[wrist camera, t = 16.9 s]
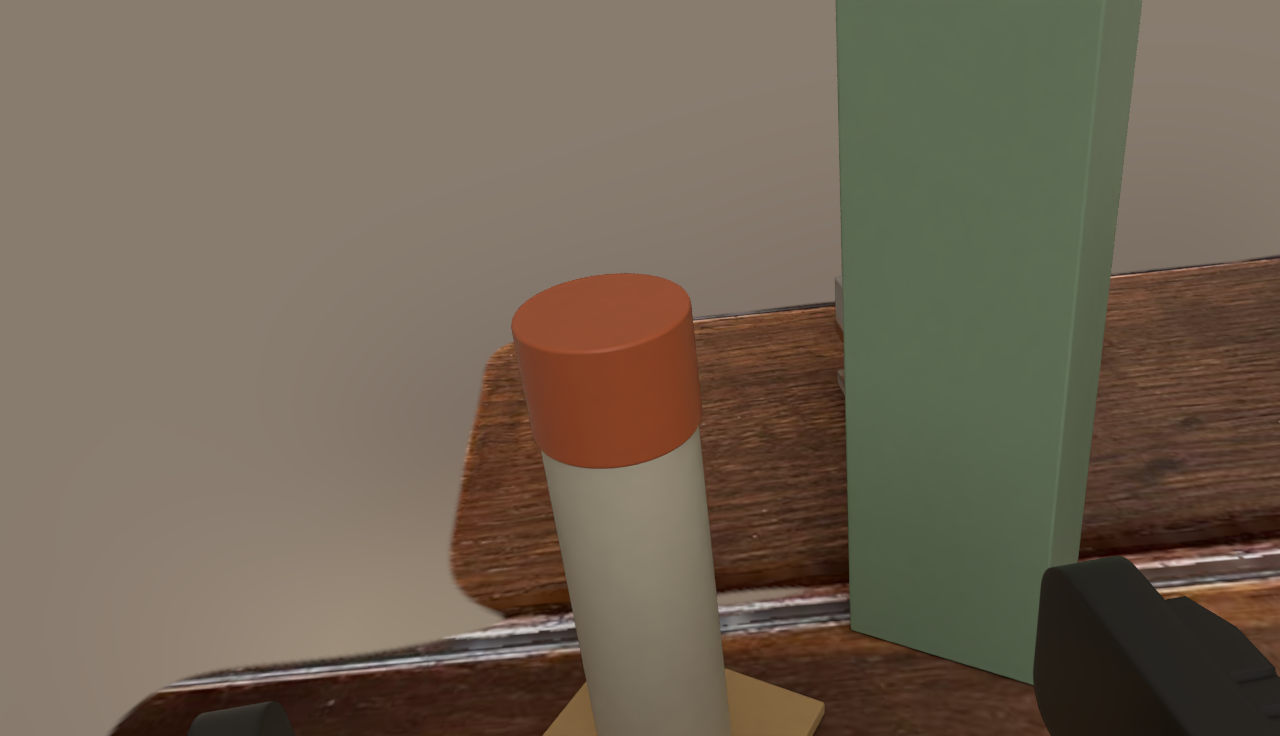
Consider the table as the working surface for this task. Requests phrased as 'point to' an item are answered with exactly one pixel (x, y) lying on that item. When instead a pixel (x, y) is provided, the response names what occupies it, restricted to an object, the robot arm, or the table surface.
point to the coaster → (759, 712)
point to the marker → (629, 496)
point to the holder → (974, 304)
